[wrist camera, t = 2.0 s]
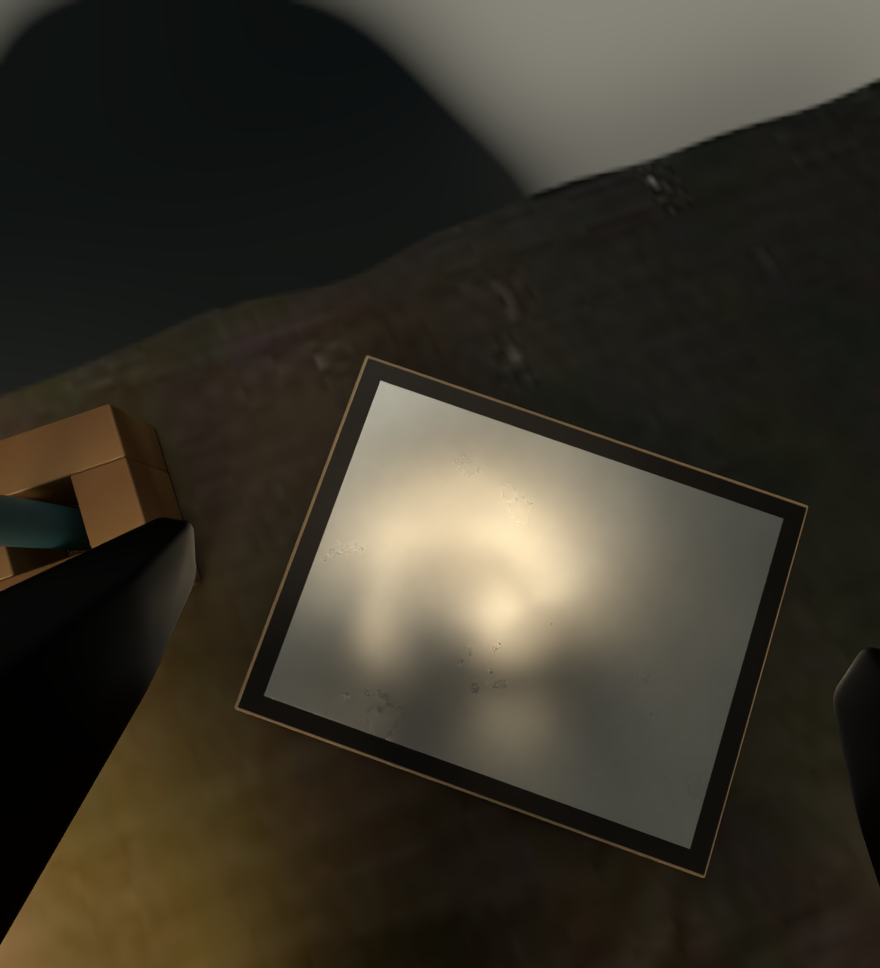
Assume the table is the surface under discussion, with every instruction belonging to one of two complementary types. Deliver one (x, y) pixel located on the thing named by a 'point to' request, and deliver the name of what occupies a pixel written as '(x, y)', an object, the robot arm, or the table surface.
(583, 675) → the tablet
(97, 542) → the block
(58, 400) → the table surface
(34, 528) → the stylus
